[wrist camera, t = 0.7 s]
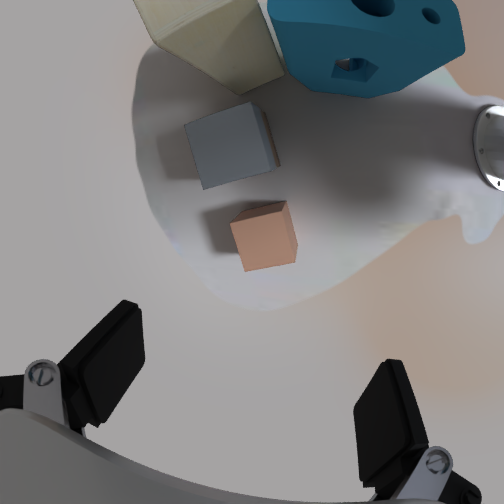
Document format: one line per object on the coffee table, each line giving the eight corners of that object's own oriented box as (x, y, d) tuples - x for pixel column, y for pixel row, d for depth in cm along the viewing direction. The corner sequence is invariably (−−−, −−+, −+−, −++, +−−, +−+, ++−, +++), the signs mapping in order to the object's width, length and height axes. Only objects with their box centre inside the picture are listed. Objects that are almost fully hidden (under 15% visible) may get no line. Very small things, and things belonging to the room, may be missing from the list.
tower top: (259, 107, 27) (250, 101, 23) (276, 167, 29) (271, 171, 25) (200, 127, 29) (184, 125, 25) (217, 183, 31) (203, 189, 27)
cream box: (292, 74, 29) (265, -14, 9) (238, 97, 31) (150, 46, 12) (265, 27, 27) (213, -72, 7) (214, 50, 29) (120, -20, 10)
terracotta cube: (286, 200, 35) (281, 210, 29) (297, 244, 36) (295, 262, 31) (242, 211, 36) (229, 223, 31) (254, 253, 38) (244, 271, 33)
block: (291, 89, 29) (266, 21, 11) (292, 54, 27) (268, -36, 9) (387, 102, 27) (466, 60, 9) (387, 66, 25) (455, -1, 7)
